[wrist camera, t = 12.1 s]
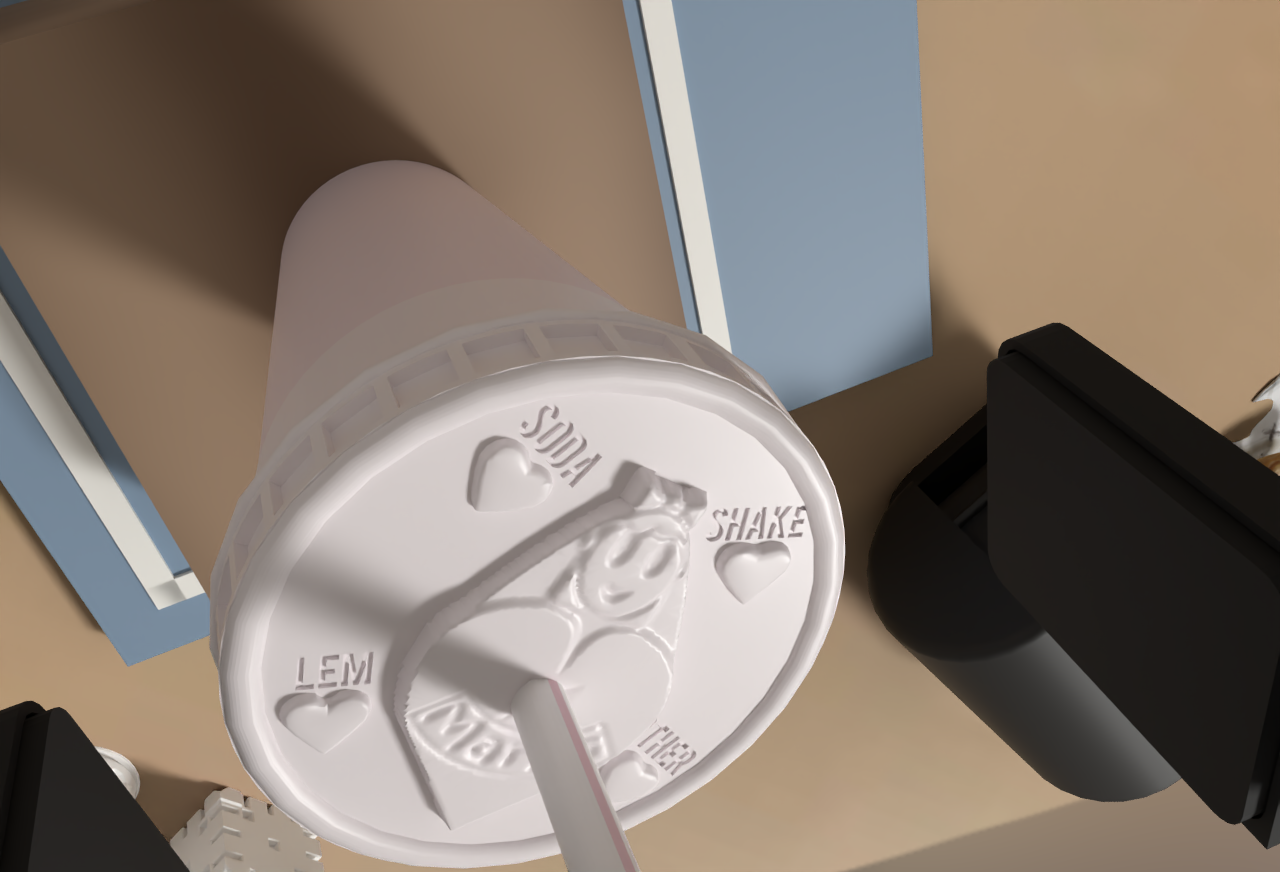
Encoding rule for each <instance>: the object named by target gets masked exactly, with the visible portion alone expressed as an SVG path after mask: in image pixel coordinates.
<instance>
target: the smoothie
mask: <svg viewBox="0 0 1280 872" xmlns="http://www.w3.org/2000/svg"><path fill="white" fill-rule="evenodd" d="M844 561H845V533H844V524H843V518H842V511H841V506H840V503H839V499H838V496H837V492H836V489H835V486H834V484H833V481H832V479H831V477H830V474H829V472H828V470H827V467H826V465H825V464H824V462H823V460H822V459H821V457H820V455H819V454H818V452H817V450H816V449H815V447H814V446H813V444H812V443H811V442H810V441H809V439H808V438H807V437H806V436H805V434H804V433H803V432H802V431H801V429H800V428H799V427H798V426H797V424H796V423H795V421H794V420H793V418H792V417H791V416H790V414H789V413H788V411H787V410H786V408H785V407H784V406H783V404H782V403H781V401H780V400H779V399H778V397H777V396H776V394H775V393H774V391H773V390H772V389H771V387H770V386H769V384H768V383H767V381H766V380H765V379H764V377H763V376H762V375H761V374H759V373H758V372H756V371H755V370H754V369H752V368H751V367H749V366H748V365H747V364H745V363H744V362H742V361H741V360H740V359H738V358H737V357H735V356H734V355H733V354H731V353H730V352H729V351H727V350H726V349H724V348H723V347H722V346H720V345H719V344H717V343H716V342H715V341H713V340H712V339H710V338H709V337H708V336H706V335H703V334H700V333H697V332H694V331H691V330H688V329H685V328H682V327H679V326H676V325H673V324H669V323H666V322H663V321H660V320H657V319H654V318H651V317H648V316H645V315H642V314H639V313H636V312H632V311H630V310H628V309H626V308H625V307H624V306H622V305H621V304H620V303H618V302H617V301H616V300H615V299H613V298H612V297H611V296H610V295H608V294H607V293H606V292H604V291H603V290H602V289H601V288H599V287H598V286H597V285H595V284H594V283H593V282H592V281H590V280H589V279H588V278H586V277H585V276H584V275H583V274H581V273H580V272H579V271H578V270H576V269H575V268H574V267H572V266H571V265H570V264H569V263H567V262H566V261H565V260H563V259H562V258H561V257H560V256H558V255H557V254H556V253H554V252H553V251H552V250H551V249H549V248H548V247H547V246H546V245H544V244H543V243H542V242H540V241H539V240H538V239H537V238H535V237H534V236H533V235H531V234H530V233H529V232H528V231H526V230H525V229H524V228H522V227H521V226H520V225H519V224H517V223H516V222H515V221H514V220H512V219H511V218H510V217H508V216H507V215H506V214H505V213H503V212H502V211H501V210H499V209H498V208H497V207H496V206H494V205H493V204H492V203H490V202H489V201H488V200H487V199H485V198H484V197H483V196H482V195H480V194H479V193H478V192H476V191H475V190H474V189H473V188H471V187H470V186H469V185H467V184H466V183H465V182H463V181H462V180H461V179H459V178H457V177H456V176H454V175H452V174H451V173H449V172H446V171H444V170H442V169H440V168H437V167H434V166H431V165H428V164H424V163H420V162H413V161H404V160H388V161H379V162H372V163H368V164H364V165H360V166H358V167H355V168H352V169H349V170H347V171H345V172H343V173H341V174H339V175H337V176H336V177H334V178H332V179H330V180H329V181H328V182H326V183H325V184H323V185H322V186H321V187H320V188H318V189H317V190H316V191H315V192H314V193H313V194H312V195H311V196H310V197H309V198H308V199H307V200H306V201H305V203H304V204H303V205H302V207H301V208H300V209H299V211H298V212H297V214H296V215H295V217H294V219H293V221H292V222H291V225H290V227H289V229H288V231H287V234H286V237H285V240H284V244H283V249H282V255H281V264H280V273H279V282H278V291H277V300H276V309H275V318H274V327H273V335H272V344H271V353H270V362H269V371H268V380H267V389H266V398H265V407H264V416H263V425H262V434H261V443H260V452H259V461H258V466H257V471H256V475H255V478H254V479H253V480H252V482H251V483H250V484H249V486H248V487H247V488H246V490H245V491H244V492H243V494H242V495H241V496H240V498H239V499H238V501H237V504H236V507H235V509H234V512H233V515H232V518H231V520H230V523H229V526H228V529H227V532H226V534H225V537H224V540H223V543H222V545H221V548H220V551H219V554H218V556H217V559H216V562H215V565H214V567H213V570H212V573H211V578H210V651H211V653H212V656H213V659H214V662H215V664H216V667H217V670H218V674H219V694H220V702H221V707H222V712H223V717H224V723H225V726H226V729H227V731H228V734H229V737H230V740H231V743H232V746H233V748H234V750H235V752H236V754H237V756H238V758H239V760H240V761H241V763H242V765H243V767H244V769H245V770H246V772H247V773H248V775H249V776H250V777H251V779H252V780H253V782H254V783H255V784H256V786H257V787H258V788H259V790H260V791H261V792H262V793H263V794H264V795H265V796H266V797H267V798H268V799H269V800H270V801H271V802H272V803H273V804H274V805H275V806H276V807H277V808H278V809H279V810H281V811H282V812H283V813H284V814H285V815H287V816H288V817H289V818H290V819H292V820H293V821H294V822H296V823H297V824H299V825H300V826H302V827H304V828H305V829H307V830H308V831H310V832H311V833H313V834H315V835H317V836H319V837H321V838H323V839H325V840H327V841H329V842H331V843H333V844H335V845H337V846H340V847H343V848H345V849H348V850H351V851H353V852H356V853H359V854H362V855H366V856H370V857H374V858H377V859H381V860H385V861H391V862H397V863H402V864H406V865H411V866H426V867H446V868H475V867H485V866H496V865H507V864H517V863H522V862H526V861H531V860H535V859H539V858H544V857H548V856H552V855H557V854H561V853H562V855H563V858H564V861H565V864H566V867H567V869H568V872H641V871H640V869H639V866H638V864H637V861H636V859H635V857H634V854H633V852H632V850H631V847H630V845H629V842H628V840H627V838H626V835H625V833H624V831H626V830H628V829H629V828H631V827H633V826H635V825H637V824H639V823H641V822H643V821H645V820H647V819H649V818H651V817H653V816H655V815H657V814H659V813H661V812H663V811H665V810H667V809H669V808H670V807H672V806H673V805H675V804H676V803H678V802H679V801H681V800H682V799H684V798H685V797H687V796H688V795H690V794H691V793H693V792H694V791H696V790H697V789H699V788H700V787H702V786H703V785H705V784H706V783H708V782H709V781H711V780H712V779H713V778H714V777H716V776H717V775H718V774H719V773H720V772H721V771H722V770H724V769H725V768H726V767H727V766H728V765H729V764H731V763H732V762H733V761H734V760H735V759H736V758H738V757H739V756H740V755H741V754H742V753H743V752H744V751H746V750H747V749H748V748H749V747H750V746H751V745H752V744H753V743H754V742H755V741H756V740H757V739H758V737H759V736H760V735H761V734H762V733H763V732H764V731H765V730H766V728H767V727H768V726H769V725H770V724H771V723H772V722H773V721H774V719H775V718H776V717H777V716H778V715H779V714H780V713H781V712H782V710H783V709H784V708H785V707H786V705H787V704H788V702H789V701H790V699H791V698H792V696H793V695H794V693H795V692H796V690H797V689H798V687H799V686H800V685H801V683H802V681H803V680H804V678H805V677H806V675H807V674H808V672H809V670H810V669H811V667H812V666H813V663H814V661H815V659H816V657H817V655H818V653H819V651H820V649H821V647H822V645H823V643H824V641H825V638H826V636H827V633H828V630H829V628H830V625H831V623H832V620H833V617H834V614H835V610H836V607H837V603H838V600H839V596H840V590H841V585H842V580H843V574H844Z"/></svg>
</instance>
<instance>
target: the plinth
mask: <svg viewBox="0 0 1280 872" xmlns="http://www.w3.org/2000/svg"><path fill="white" fill-rule="evenodd" d="M388 160H404V161H413V162H420V163H424V164H428V165H431V166H434V167H437V168H440V169H442V170H444V171H446V172H449V173H451V174H452V175H454V176H456V177H457V178H459V179H461V180H462V181H463V182H465V183H466V184H467V185H469V186H470V187H471V188H473V189H474V190H475V191H476V192H478V193H479V194H480V195H482V196H483V197H484V198H485V199H487V200H488V201H489V202H490V203H492V204H493V205H494V206H496V207H497V208H498V209H499V210H501V211H502V212H503V213H505V214H506V215H507V216H508V217H510V218H511V219H512V220H514V221H515V222H516V223H517V224H519V225H520V226H521V227H522V228H524V229H525V230H526V231H528V232H529V233H530V234H531V235H533V236H534V237H535V238H537V239H538V240H539V241H540V242H542V243H543V244H544V245H546V246H547V247H548V248H549V249H551V250H552V251H553V252H554V253H556V254H557V255H558V256H560V257H561V258H562V259H563V260H565V261H566V262H567V263H569V264H570V265H571V266H572V267H574V268H575V269H576V270H578V271H579V272H580V273H581V274H583V275H584V276H585V277H586V278H588V279H589V280H590V281H592V282H593V283H594V284H595V285H597V286H598V287H599V288H601V289H602V290H603V291H604V292H606V293H607V294H608V295H610V296H611V297H612V298H613V299H615V300H616V301H617V302H618V303H620V304H621V305H622V306H624V307H625V308H626V309H628V310H630V311H632V312H636V313H639V314H642V315H645V316H648V317H651V318H654V319H657V320H660V321H663V322H666V323H669V324H673V325H676V326H679V327H682V328H685V329H687V326H686V321H685V316H684V311H683V306H682V301H681V296H680V291H679V286H678V281H677V276H676V271H675V265H674V260H673V255H672V250H671V245H670V240H669V235H668V230H667V225H666V220H665V215H664V210H663V204H662V199H661V194H660V189H659V184H658V179H657V174H656V169H655V164H654V159H653V154H652V149H651V144H650V138H649V133H648V128H647V123H646V118H645V113H644V108H643V103H642V98H641V93H640V88H639V83H638V78H637V72H636V67H635V62H634V57H633V52H632V47H631V42H630V37H629V32H628V27H627V22H626V17H625V12H624V6H623V1H622V0H27V1H23V2H19V3H16V4H12V5H9V6H5V7H1V8H0V245H1V247H2V249H3V251H4V252H5V254H6V256H7V257H8V259H9V261H10V262H11V264H12V266H13V267H14V269H15V271H16V273H17V274H18V276H19V278H20V279H21V281H22V283H23V284H24V286H25V288H26V290H27V291H28V293H29V295H30V296H31V298H32V300H33V301H34V303H35V305H36V306H37V308H38V310H39V312H40V313H41V315H42V317H43V318H44V320H45V322H46V323H47V325H48V327H49V328H50V330H51V332H52V334H53V335H54V337H55V339H56V340H57V342H58V344H59V345H60V347H61V349H62V351H63V352H64V354H65V356H66V357H67V359H68V361H69V362H70V364H71V366H72V367H73V369H74V371H75V373H76V374H77V376H78V378H79V379H80V381H81V383H82V384H83V386H84V388H85V389H86V391H87V393H88V395H89V396H90V398H91V400H92V401H93V403H94V405H95V406H96V408H97V410H98V411H99V413H100V415H101V417H102V418H103V420H104V422H105V423H106V425H107V427H108V428H109V430H110V432H111V434H112V435H113V437H114V439H115V440H116V442H117V444H118V445H119V447H120V449H121V450H122V452H123V454H124V456H125V457H126V459H127V461H128V462H129V464H130V466H131V467H132V469H133V471H134V472H135V474H136V476H137V478H138V479H139V481H140V483H141V484H142V486H143V488H144V489H145V491H146V493H147V495H148V496H149V498H150V500H151V501H152V503H153V505H154V506H155V508H156V510H157V511H158V513H159V515H160V517H161V518H162V520H163V522H164V523H165V525H166V527H167V528H168V530H169V532H170V533H171V535H172V537H173V539H174V540H175V542H176V544H177V545H178V547H179V549H180V550H181V552H182V554H183V556H184V557H185V559H186V561H187V562H188V564H189V566H190V567H191V569H192V571H193V572H194V574H195V576H196V578H197V579H198V581H199V583H200V584H201V586H202V588H203V589H204V591H205V593H206V594H207V596H208V598H209V600H210V578H211V573H212V570H213V567H214V565H215V562H216V559H217V556H218V554H219V551H220V548H221V545H222V543H223V540H224V537H225V534H226V532H227V529H228V526H229V523H230V520H231V518H232V515H233V512H234V509H235V507H236V504H237V501H238V499H239V498H240V496H241V495H242V494H243V492H244V491H245V490H246V488H247V487H248V486H249V484H250V483H251V482H252V480H253V479H254V478H255V475H256V471H257V466H258V461H259V452H260V443H261V434H262V425H263V416H264V407H265V398H266V389H267V380H268V371H269V362H270V353H271V344H272V335H273V327H274V318H275V309H276V300H277V291H278V282H279V273H280V264H281V255H282V249H283V244H284V240H285V237H286V234H287V231H288V229H289V227H290V225H291V222H292V221H293V219H294V217H295V215H296V214H297V212H298V211H299V209H300V208H301V207H302V205H303V204H304V203H305V201H306V200H307V199H308V198H309V197H310V196H311V195H312V194H313V193H314V192H315V191H316V190H317V189H318V188H320V187H321V186H322V185H323V184H325V183H326V182H328V181H329V180H330V179H332V178H334V177H336V176H337V175H339V174H341V173H343V172H345V171H347V170H349V169H352V168H355V167H358V166H360V165H364V164H368V163H372V162H379V161H388Z"/></svg>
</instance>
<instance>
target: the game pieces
mask: <svg viewBox="0 0 1280 872" xmlns="http://www.w3.org/2000/svg"><path fill="white" fill-rule="evenodd" d="M94 747H95V748H96V749H97V751H98V752H99V753H100V755H101V756H102V757H103V759H104V760H105V761H106V762H107V764H108V765H109V766H110V768H111V769H112V770H113V772H114V773H115V774H116V775H117V777H118V778H119V779H120V781H121V782H122V783H123V785H124V786H125V787H126V788H127V790H128V791H129V792H130V794H131V795H132V796H133V798H134V799H136V797H137V795H138V793H139V788H140V779H139V774H138V772H137V770H136V768H135V767H134V765H133V764H132V763H131V762H130V761H129V760H128V759H126V758H125V757H124V756H122V755H121V754H119V753H116V752H114V751H112V750H109V749H105V748H102V747H96V746H94ZM316 837H317V835H315V834H313V833H311V832H310V831H308V830H307V829H305V828H304V827H302V826H300V825H299V824H297V823H296V822H294V821H293V820H292V819H290V818H289V817H288V816H287V815H285V814H284V813H283V812H282V811H281V810H279V809H278V808H277V807H276V806H275V805H271V806H270V807H269V808H268V809H267V803H266V802H263V801H261V800H258V799H255V798H252V797H248V798H247V799H246V800H245V801H244V799H243V794H241V791H238V790H235V789H233V788H230V787H227V788H225V789H223V790H221V791H216V790H215V791H213V792H212V793H211V794H210V795H209V796H208V797H207V798H206V799H205V804H204V810H202V809H199V810H198V811H197V812H196V813H195V814H194V815H193V816H192V818H191V819H190V820H189V821H188V822H187V828H184V827H183V828H181V829H180V830H179V831H178V833H177V834H176V835H175V836H174V837H173V838H172V839H171V840H170V846H171V847H172V848H173V850H174V851H175V852H176V854H177V855H178V856H179V857H180V859H181V860H182V861H183V863H184V864H185V865H186V867H187V868H188V869H189V871H190V872H324V866H323V863H322V862H319V861H318V860H319V859H320V858H321V857H322V853H321V847H320V841H318V840H315V838H316Z"/></svg>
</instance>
